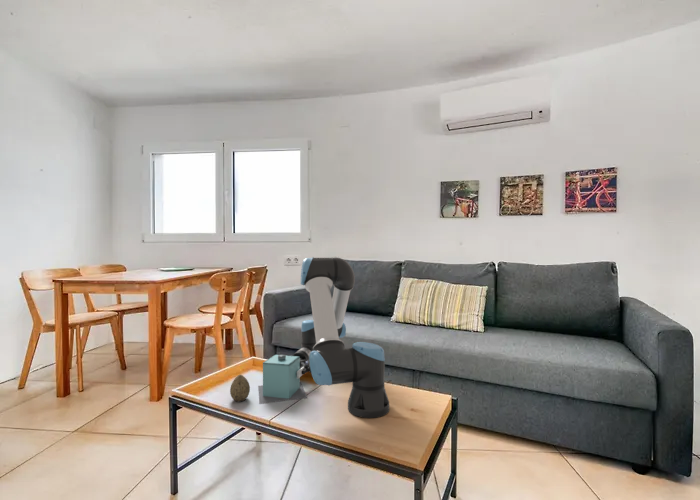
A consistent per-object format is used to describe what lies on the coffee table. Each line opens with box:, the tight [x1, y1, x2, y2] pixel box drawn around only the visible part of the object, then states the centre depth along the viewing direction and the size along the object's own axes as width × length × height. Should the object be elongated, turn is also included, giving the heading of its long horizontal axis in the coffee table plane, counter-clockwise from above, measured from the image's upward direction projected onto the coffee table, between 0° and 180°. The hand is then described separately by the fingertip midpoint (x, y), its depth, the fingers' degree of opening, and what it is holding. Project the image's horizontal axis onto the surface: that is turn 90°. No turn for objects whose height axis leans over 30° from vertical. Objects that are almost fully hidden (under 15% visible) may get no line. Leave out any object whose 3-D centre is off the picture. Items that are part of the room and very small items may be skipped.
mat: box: [257, 381, 308, 405], centre depth 138 cm, size 18×18×1 cm
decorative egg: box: [229, 374, 251, 402], centre depth 130 cm, size 7×7×10 cm
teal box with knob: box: [262, 354, 301, 399], centre depth 138 cm, size 11×11×14 cm
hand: (282, 373), depth 139 cm, fingers open, 13 cm apart
